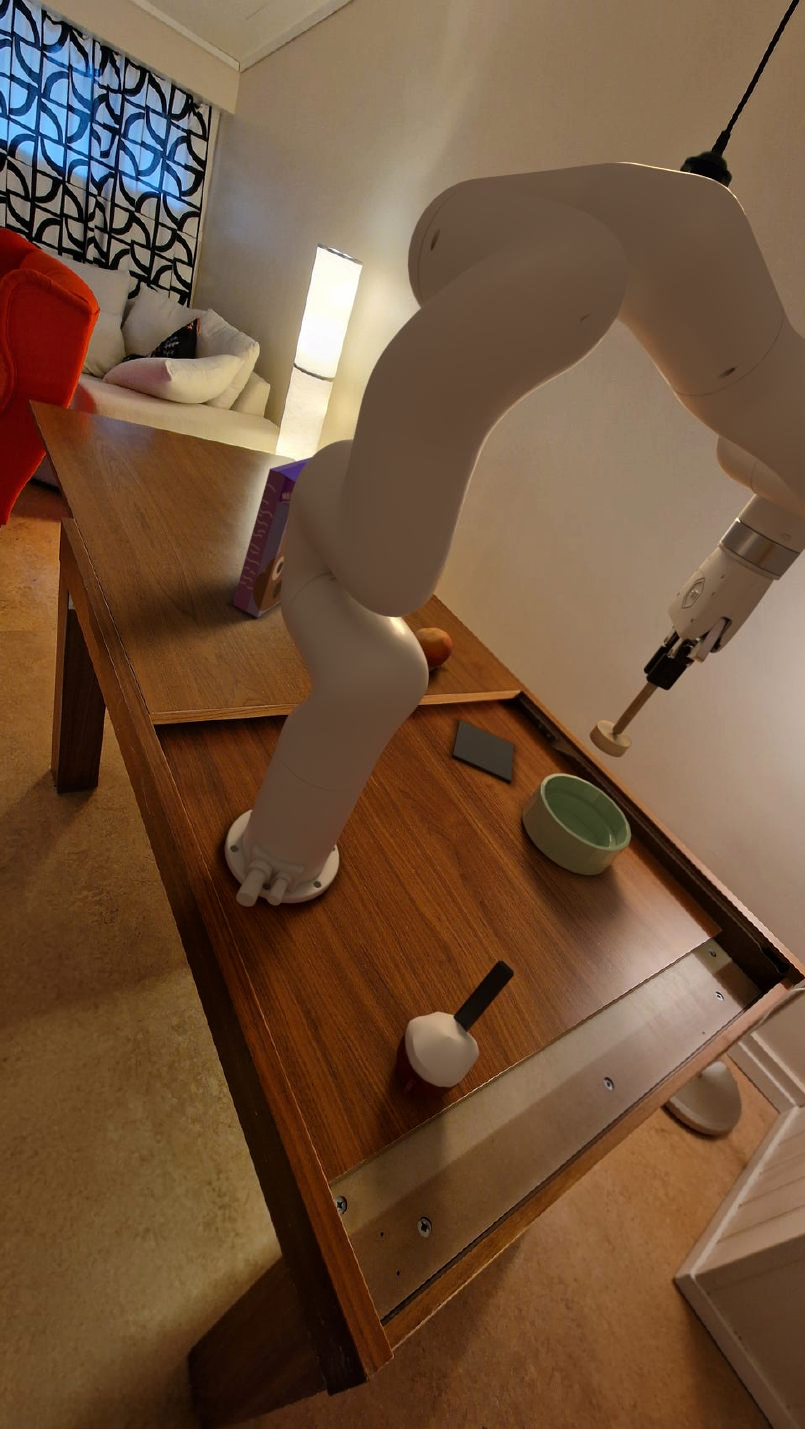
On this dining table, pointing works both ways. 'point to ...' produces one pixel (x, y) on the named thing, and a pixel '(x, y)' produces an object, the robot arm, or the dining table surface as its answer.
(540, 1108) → the dining table surface
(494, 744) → the mat
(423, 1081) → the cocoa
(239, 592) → the cereal box
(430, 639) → the fruit
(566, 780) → the bowl
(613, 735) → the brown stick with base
